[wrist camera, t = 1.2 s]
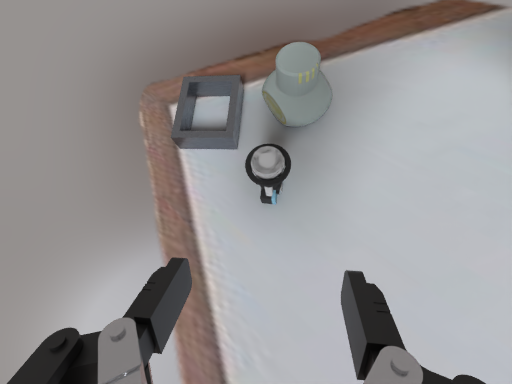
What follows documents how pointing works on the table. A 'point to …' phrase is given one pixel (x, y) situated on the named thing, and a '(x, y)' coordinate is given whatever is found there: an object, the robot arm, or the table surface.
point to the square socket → (185, 110)
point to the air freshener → (297, 86)
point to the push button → (268, 170)
